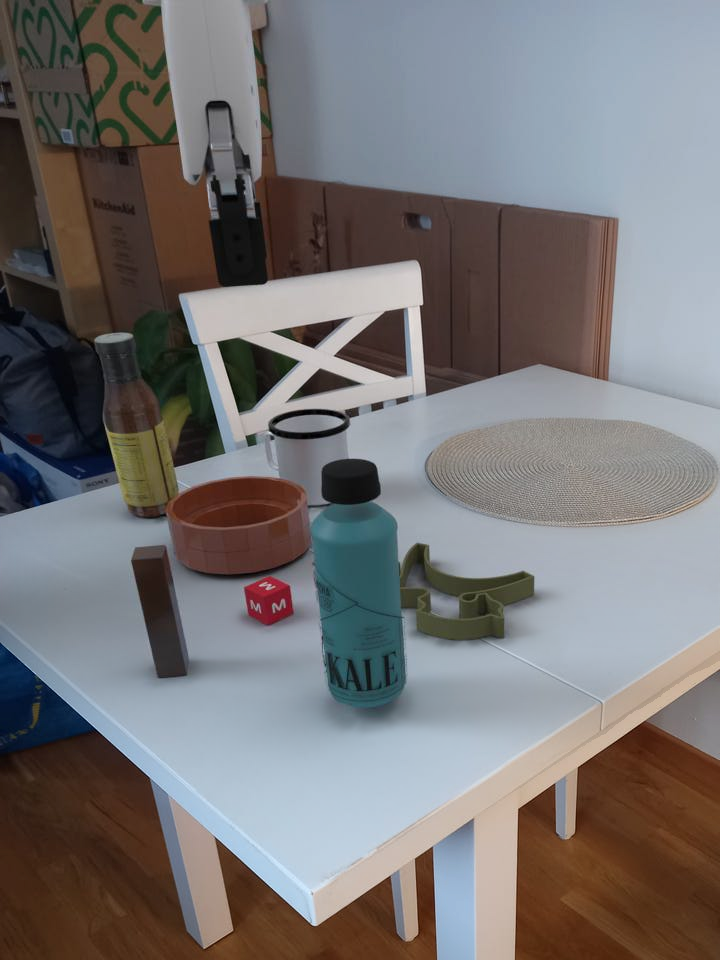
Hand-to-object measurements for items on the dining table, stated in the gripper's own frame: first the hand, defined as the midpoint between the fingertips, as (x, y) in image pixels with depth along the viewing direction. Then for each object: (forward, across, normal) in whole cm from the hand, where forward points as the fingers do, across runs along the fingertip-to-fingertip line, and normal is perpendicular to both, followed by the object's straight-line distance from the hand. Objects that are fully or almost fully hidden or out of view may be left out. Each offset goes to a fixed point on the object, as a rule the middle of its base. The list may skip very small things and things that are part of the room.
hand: (244, 272), depth 65 cm
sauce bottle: (+31, -35, -16) cm, 49 cm away
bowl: (+31, -22, -5) cm, 38 cm away
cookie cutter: (+31, -6, +14) cm, 35 cm away
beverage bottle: (+31, +10, +5) cm, 33 cm away
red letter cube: (+31, -7, -2) cm, 32 cm away
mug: (+31, -36, +3) cm, 48 cm away
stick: (+31, +1, -10) cm, 33 cm away
